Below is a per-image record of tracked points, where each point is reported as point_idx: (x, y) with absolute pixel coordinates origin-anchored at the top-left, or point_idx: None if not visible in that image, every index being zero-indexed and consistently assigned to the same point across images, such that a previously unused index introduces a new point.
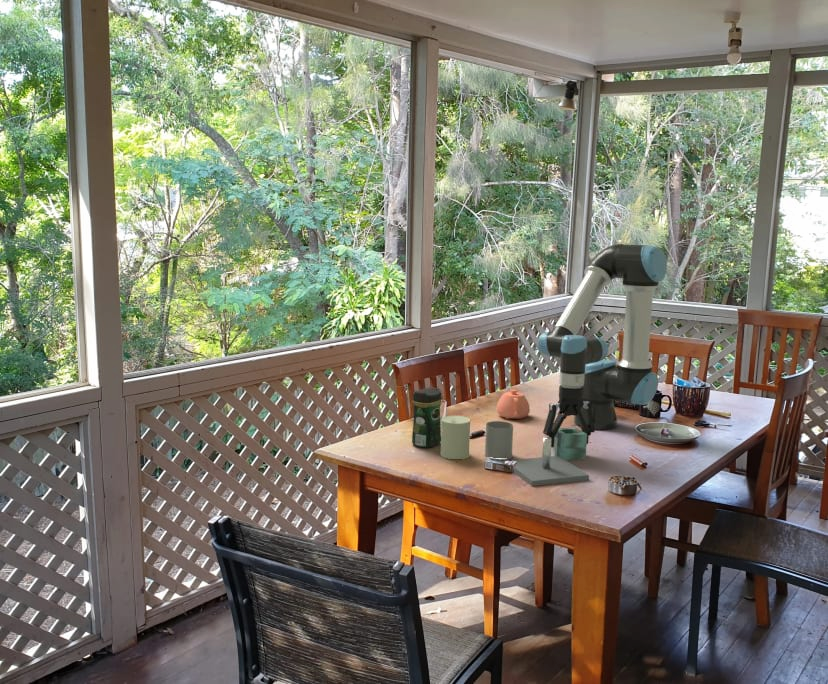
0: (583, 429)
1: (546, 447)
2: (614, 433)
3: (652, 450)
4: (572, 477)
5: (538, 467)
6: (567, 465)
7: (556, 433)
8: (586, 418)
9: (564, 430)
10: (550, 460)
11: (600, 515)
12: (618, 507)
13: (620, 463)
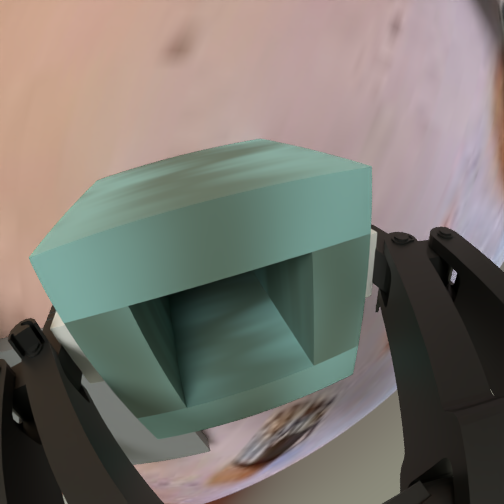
0: (388, 310)
1: None
2: (471, 3)
3: (490, 183)
4: (160, 459)
5: None
6: None
7: (95, 409)
8: (494, 322)
9: (203, 276)
10: (85, 378)
11: (186, 497)
12: (222, 485)
13: (375, 309)
